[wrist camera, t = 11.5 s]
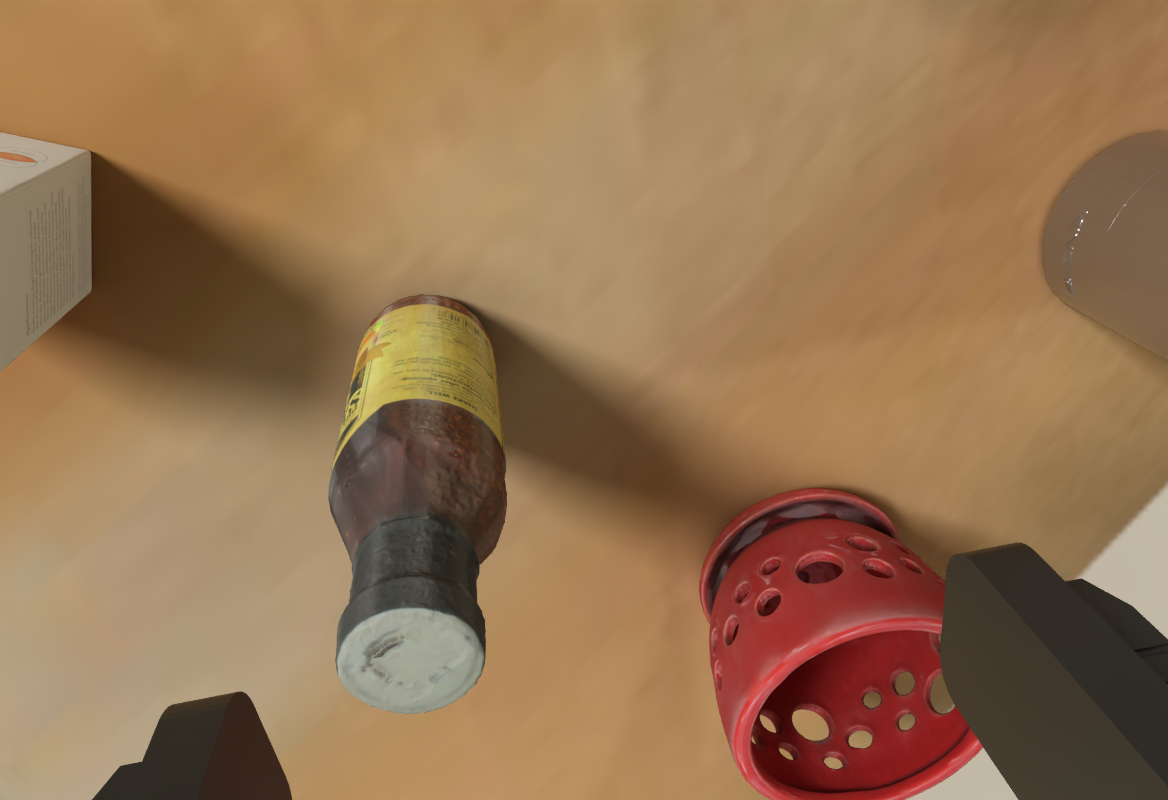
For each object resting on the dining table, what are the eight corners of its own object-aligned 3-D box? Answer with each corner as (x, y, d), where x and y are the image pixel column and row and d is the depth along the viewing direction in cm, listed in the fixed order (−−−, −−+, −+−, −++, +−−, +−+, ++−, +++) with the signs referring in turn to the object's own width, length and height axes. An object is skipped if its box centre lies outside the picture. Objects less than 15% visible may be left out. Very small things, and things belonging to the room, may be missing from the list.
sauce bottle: (345, 301, 38) (245, 580, 21) (481, 277, 38) (496, 532, 21) (381, 425, 41) (321, 760, 24) (507, 402, 41) (539, 716, 24)
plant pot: (685, 472, 45) (754, 626, 34) (916, 463, 46) (1050, 607, 36) (666, 656, 51) (720, 837, 40) (872, 642, 52) (976, 812, 42)
